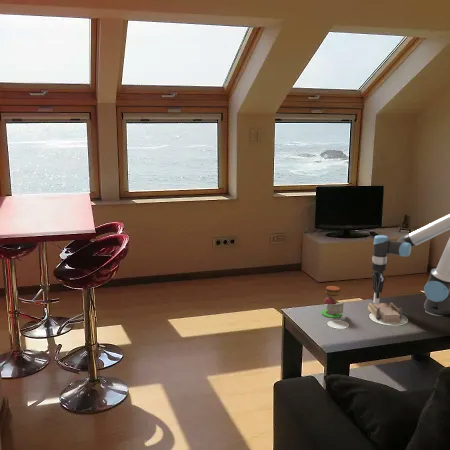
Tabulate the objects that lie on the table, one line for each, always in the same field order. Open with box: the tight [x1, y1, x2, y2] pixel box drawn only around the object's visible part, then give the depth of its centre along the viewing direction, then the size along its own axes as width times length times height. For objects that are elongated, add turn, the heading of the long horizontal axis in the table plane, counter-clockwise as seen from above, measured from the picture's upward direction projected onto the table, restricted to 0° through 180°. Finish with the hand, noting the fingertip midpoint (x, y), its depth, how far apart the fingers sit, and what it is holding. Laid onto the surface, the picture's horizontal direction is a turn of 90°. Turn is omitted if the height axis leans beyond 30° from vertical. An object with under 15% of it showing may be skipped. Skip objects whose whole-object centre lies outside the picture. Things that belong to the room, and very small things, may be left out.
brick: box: [372, 302, 401, 323], centre depth 266 cm, size 17×8×5 cm, turn 10°
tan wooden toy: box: [367, 302, 403, 320], centre depth 268 cm, size 14×13×6 cm
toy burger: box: [321, 285, 345, 319], centre depth 267 cm, size 12×13×15 cm
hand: (376, 302), depth 280 cm, fingers closed
